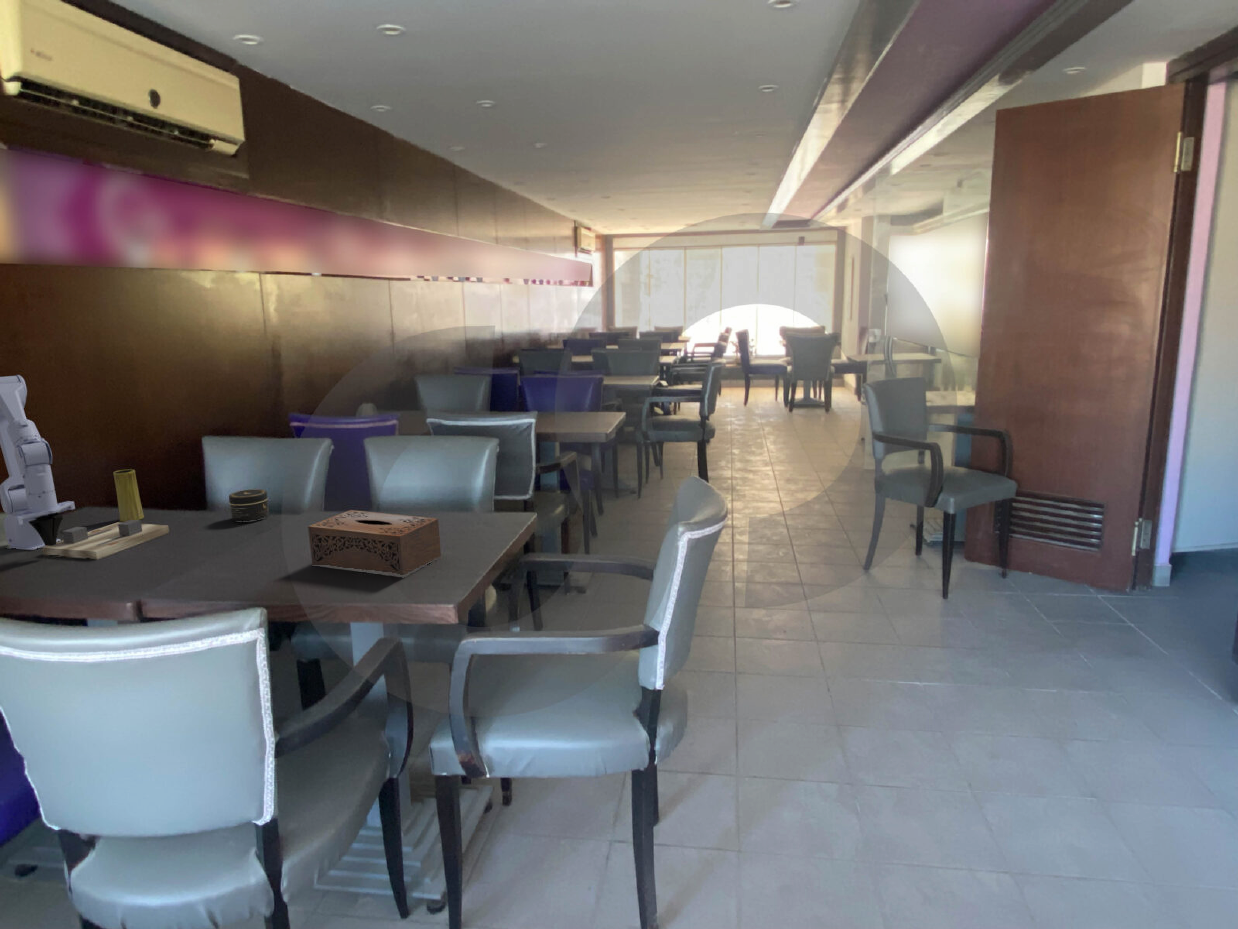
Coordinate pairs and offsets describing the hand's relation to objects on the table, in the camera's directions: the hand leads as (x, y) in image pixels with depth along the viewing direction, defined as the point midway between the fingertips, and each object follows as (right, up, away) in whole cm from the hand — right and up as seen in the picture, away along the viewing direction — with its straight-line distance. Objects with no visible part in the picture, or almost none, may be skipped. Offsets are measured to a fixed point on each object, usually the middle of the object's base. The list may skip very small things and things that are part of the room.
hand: (50, 544), depth 193 cm
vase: (0, +4, +33) cm, 33 cm away
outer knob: (+13, +2, +12) cm, 17 cm away
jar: (+35, +4, +31) cm, 47 cm away
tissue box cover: (+84, -4, -9) cm, 84 cm away
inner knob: (+2, 0, +7) cm, 7 cm away
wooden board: (+7, -1, +11) cm, 13 cm away
